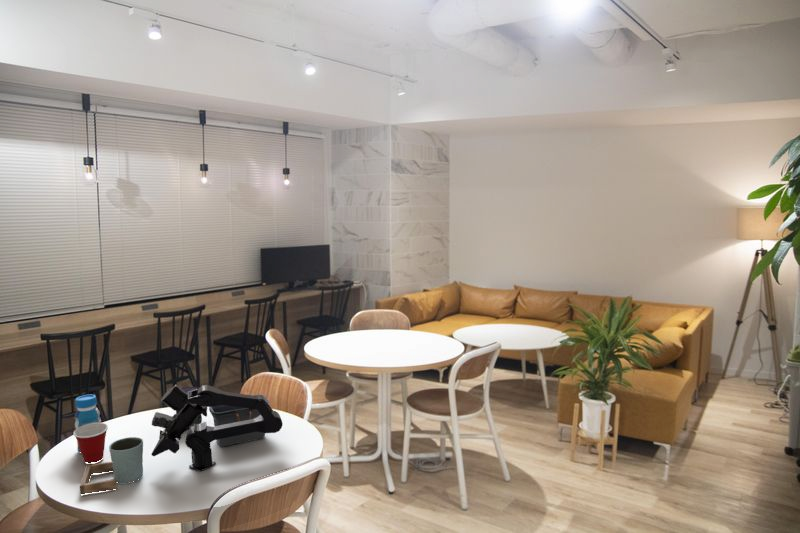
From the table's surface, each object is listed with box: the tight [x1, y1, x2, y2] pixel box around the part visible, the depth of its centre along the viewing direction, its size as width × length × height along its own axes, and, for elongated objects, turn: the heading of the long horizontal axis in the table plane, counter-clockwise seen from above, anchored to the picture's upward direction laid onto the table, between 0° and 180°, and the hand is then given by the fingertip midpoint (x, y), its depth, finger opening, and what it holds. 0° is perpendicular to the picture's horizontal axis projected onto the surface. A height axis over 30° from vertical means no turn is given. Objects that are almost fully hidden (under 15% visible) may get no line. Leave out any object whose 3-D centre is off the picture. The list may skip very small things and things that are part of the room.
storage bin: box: [208, 394, 271, 447], centre depth 223 cm, size 21×16×14 cm
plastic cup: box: [72, 422, 109, 463], centre depth 208 cm, size 11×11×12 cm
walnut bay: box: [79, 461, 118, 494], centre depth 192 cm, size 10×15×4 cm
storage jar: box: [175, 386, 203, 433], centre depth 236 cm, size 10×10×15 cm
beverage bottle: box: [74, 394, 102, 453], centre depth 216 cm, size 8×8×20 cm
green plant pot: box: [109, 436, 144, 484], centre depth 194 cm, size 10×10×12 cm
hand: (152, 455), depth 197 cm, fingers closed
